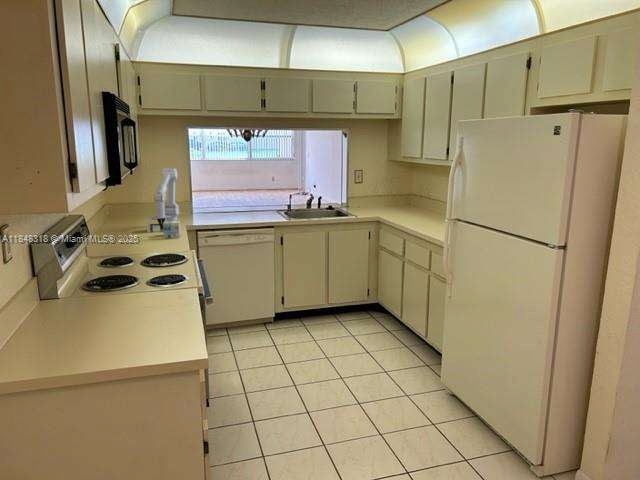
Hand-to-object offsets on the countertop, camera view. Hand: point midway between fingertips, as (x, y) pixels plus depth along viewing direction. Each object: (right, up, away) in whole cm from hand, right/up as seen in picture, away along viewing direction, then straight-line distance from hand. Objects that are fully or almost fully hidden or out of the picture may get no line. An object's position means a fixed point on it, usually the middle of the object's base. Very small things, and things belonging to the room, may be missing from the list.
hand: (161, 229), depth 340 cm
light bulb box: (+12, -6, -14) cm, 19 cm away
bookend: (-8, -2, -2) cm, 9 cm away
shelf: (-1, -2, +1) cm, 3 cm away
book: (-3, -1, -1) cm, 4 cm away
